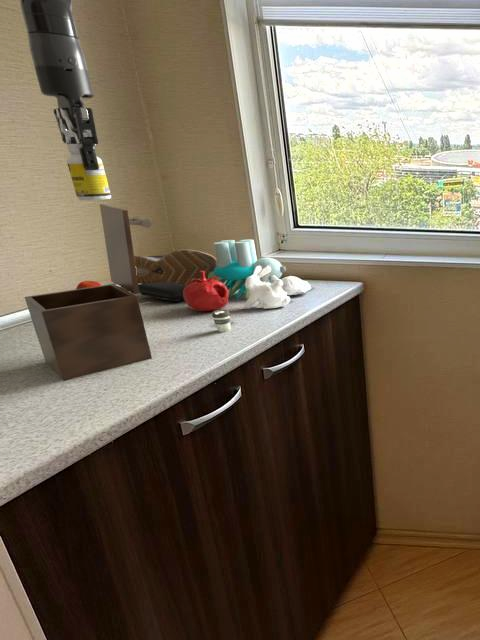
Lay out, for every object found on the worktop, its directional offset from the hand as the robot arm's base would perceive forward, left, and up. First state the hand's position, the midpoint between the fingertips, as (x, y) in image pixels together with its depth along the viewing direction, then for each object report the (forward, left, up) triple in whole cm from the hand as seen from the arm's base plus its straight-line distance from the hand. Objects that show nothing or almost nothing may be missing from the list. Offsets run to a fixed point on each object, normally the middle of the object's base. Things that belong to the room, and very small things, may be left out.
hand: (86, 168), depth 96 cm
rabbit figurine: (+31, -2, -33) cm, 45 cm away
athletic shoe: (+20, +36, -28) cm, 50 cm away
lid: (-1, -12, -13) cm, 18 cm away
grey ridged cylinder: (+15, -12, -33) cm, 38 cm away
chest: (-8, -12, -33) cm, 37 cm away
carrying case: (+16, +33, -31) cm, 48 cm away
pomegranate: (+19, +7, -33) cm, 39 cm away
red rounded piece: (+1, +25, -26) cm, 36 cm away
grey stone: (+40, +3, -33) cm, 52 cm away
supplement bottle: (0, 0, -6) cm, 6 cm away
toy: (+33, +13, -18) cm, 40 cm away
